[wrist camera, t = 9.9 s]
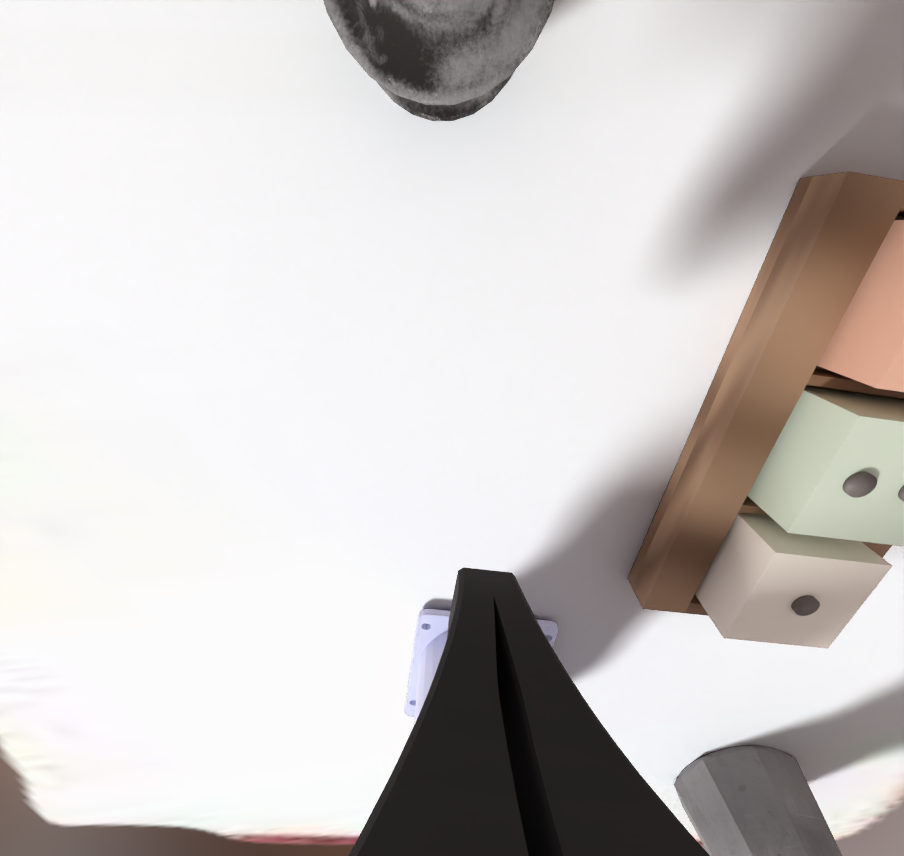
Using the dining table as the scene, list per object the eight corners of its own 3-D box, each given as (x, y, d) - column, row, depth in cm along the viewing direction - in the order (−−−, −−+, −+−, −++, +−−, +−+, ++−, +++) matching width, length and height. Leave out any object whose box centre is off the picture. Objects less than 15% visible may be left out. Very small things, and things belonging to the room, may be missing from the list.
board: (800, 596, 23) (829, 627, 22) (627, 578, 23) (642, 608, 21) (1056, 222, 15) (1137, 221, 14) (799, 178, 15) (848, 171, 13)
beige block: (778, 593, 22) (831, 652, 19) (687, 583, 22) (726, 641, 19) (828, 516, 20) (896, 569, 17) (728, 504, 20) (779, 556, 17)
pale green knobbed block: (839, 499, 19) (912, 550, 16) (737, 486, 19) (791, 536, 16) (904, 399, 17) (1001, 437, 14) (790, 384, 17) (864, 418, 14)
